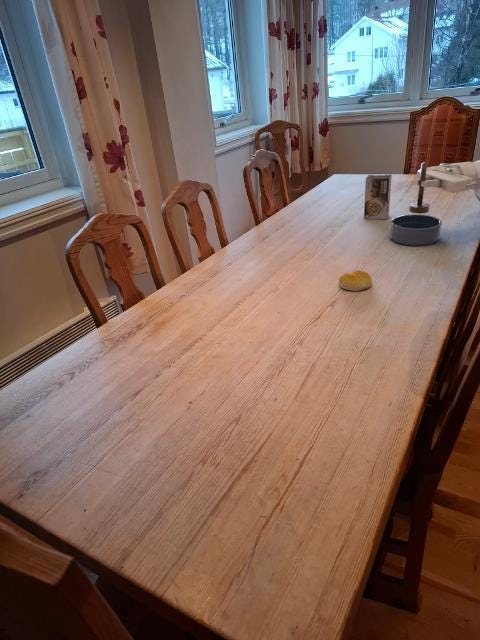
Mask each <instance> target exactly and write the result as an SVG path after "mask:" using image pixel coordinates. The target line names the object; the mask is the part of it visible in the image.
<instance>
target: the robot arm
mask: <svg viewBox="0 0 480 640" xmlns="http://www.w3.org/2000/svg"><path fill="white" fill-rule="evenodd" d="M420 174H421V168H420V169H418V170H417V171H416V178H415V185H417V186H419V183H420ZM421 186H422V187H424V188H436V189H439V190H442V191H445V192H447V193H451V194H457V193H461V192H466V191H470V190H473V194H474V195H475V197H476V199H477V200H478V201H479V202H480V159H478V160H475V161H465V162H464V161H463V162H454V163H449V162H448V163H446V162H445V163H440V164H439V165H435V166H429V167H427V170H426V178H425V181H422V182H421Z"/></svg>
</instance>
